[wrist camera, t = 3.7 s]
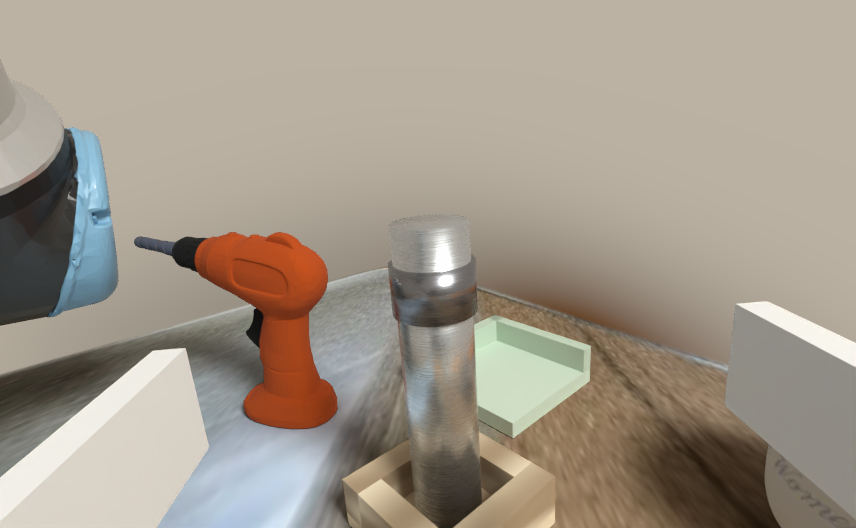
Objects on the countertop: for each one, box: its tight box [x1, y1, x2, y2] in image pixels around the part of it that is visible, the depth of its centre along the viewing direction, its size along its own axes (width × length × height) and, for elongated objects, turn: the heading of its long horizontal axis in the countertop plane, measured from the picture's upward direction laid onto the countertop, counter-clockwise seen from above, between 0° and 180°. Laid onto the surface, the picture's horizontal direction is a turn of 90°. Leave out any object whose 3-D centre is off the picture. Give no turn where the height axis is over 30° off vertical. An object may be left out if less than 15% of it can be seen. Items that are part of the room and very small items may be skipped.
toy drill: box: [134, 232, 338, 429], centre depth 37 cm, size 5×19×15 cm, turn 68°
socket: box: [342, 432, 555, 528], centre depth 25 cm, size 8×8×3 cm
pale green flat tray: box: [474, 315, 591, 438], centre depth 38 cm, size 10×10×3 cm
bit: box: [388, 215, 482, 528], centre depth 23 cm, size 4×4×16 cm
